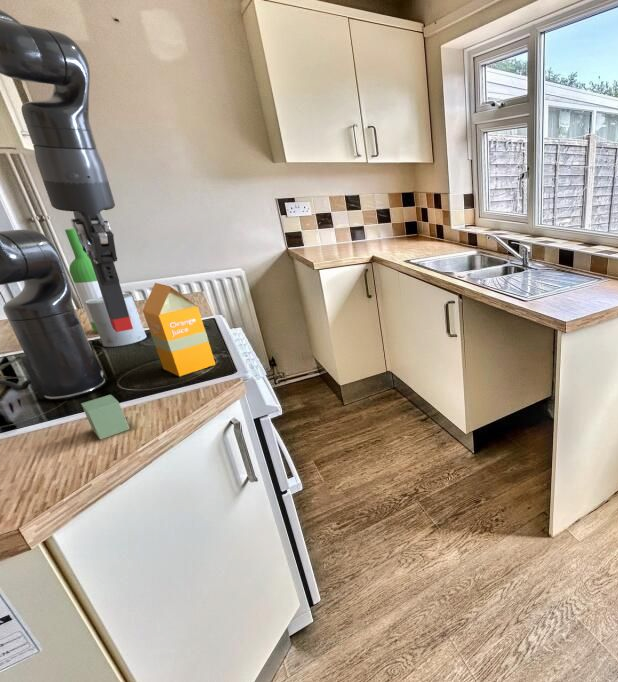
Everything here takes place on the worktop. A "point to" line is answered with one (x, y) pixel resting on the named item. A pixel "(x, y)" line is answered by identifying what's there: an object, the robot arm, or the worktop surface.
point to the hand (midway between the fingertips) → (108, 281)
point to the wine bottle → (83, 274)
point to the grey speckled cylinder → (105, 328)
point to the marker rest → (105, 416)
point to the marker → (113, 302)
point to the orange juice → (177, 331)
